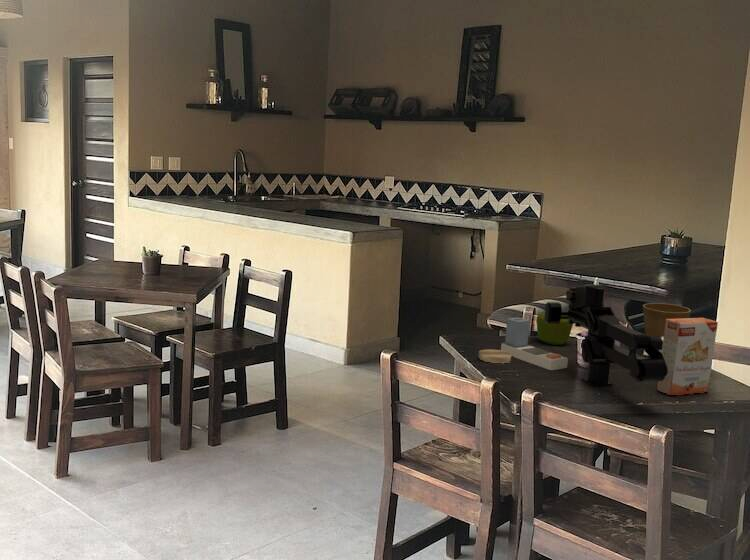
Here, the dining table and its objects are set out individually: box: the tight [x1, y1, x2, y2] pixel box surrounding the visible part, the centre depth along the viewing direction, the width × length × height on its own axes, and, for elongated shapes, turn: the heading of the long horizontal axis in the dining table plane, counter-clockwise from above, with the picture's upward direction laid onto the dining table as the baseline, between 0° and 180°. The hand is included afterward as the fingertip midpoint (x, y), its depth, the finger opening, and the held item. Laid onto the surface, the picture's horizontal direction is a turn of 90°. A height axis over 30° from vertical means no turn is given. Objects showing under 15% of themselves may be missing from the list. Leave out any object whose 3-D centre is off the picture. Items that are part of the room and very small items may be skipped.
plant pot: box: [642, 302, 692, 337], centre depth 267 cm, size 15×15×16 cm
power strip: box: [500, 341, 569, 371], centre depth 251 cm, size 22×7×4 cm, turn 33°
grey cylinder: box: [504, 317, 530, 347], centre depth 256 cm, size 5×5×8 cm
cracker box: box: [656, 317, 719, 396], centre depth 223 cm, size 14×6×21 cm, turn 114°
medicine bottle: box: [642, 336, 664, 358], centre depth 240 cm, size 7×7×12 cm
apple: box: [535, 311, 574, 346], centre depth 275 cm, size 12×12×11 cm
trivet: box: [478, 348, 512, 365], centre depth 249 cm, size 10×10×2 cm
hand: (562, 307), depth 251 cm, fingers open, 9 cm apart
